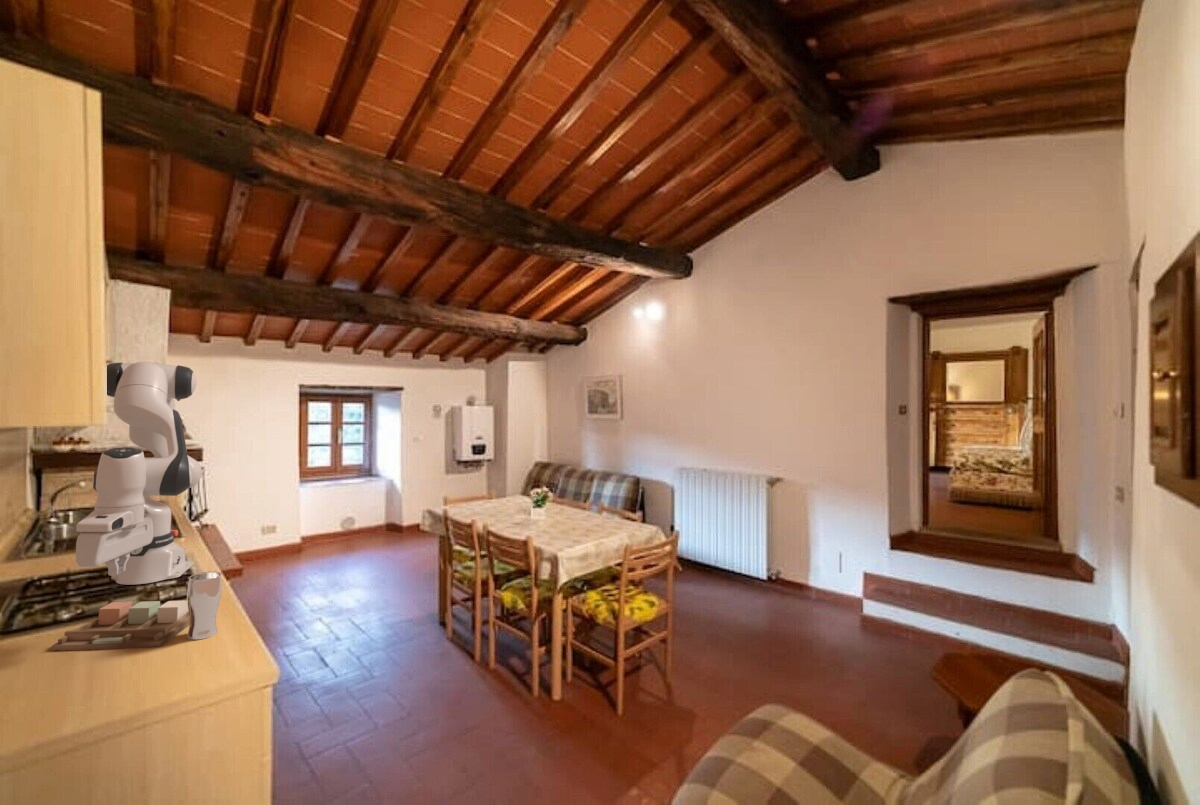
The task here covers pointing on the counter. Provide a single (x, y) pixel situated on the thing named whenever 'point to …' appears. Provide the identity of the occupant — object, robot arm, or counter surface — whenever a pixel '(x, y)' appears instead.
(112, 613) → the salmon pink cube
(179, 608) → the pale pink cube
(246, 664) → the counter surface
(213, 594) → the beer glass
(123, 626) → the brown compartment tray
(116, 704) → the counter surface
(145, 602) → the sage green cube
